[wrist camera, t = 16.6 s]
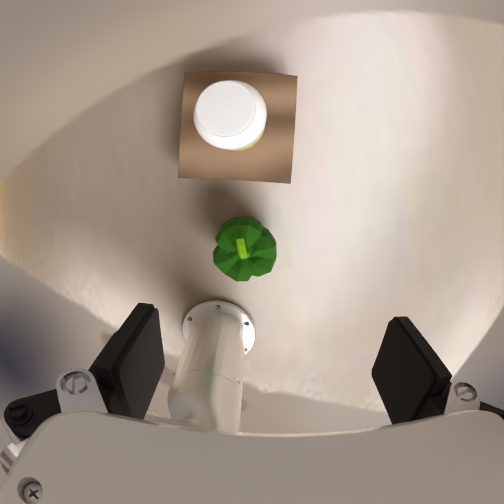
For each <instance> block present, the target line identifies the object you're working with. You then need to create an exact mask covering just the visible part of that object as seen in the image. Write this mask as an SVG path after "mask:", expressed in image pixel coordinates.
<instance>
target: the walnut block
mask: <svg viewBox="0 0 504 504" xmlns="http://www.w3.org/2000/svg"><path fill="white" fill-rule="evenodd" d="M227 80H235V81H241V82H244V83H246V84H249V85H250V86H252V87H253V88H255V89H256V90H257V91H258V92H259V93H260V95H261V96H262V98H263V100H264V102H265V105H266V111H267V117H266V123H265V129H264V132H263V135H262V137H261V138H260V140H259V141H258V142H257V143H256V144H255V145H253V146H252V147H250V148H248V149H245V150H241V151H232V150H227V149H221V148H218V147H215V146H213V145H211V144H209V143H208V142H206V141H205V140H204V139H203V138H202V137H201V136H200V134H199V133H198V131H197V129H196V127H195V123H194V108H195V105H196V102H197V100H198V98H199V96H200V95H201V93H202V92H203V91H204V90H205V89H206V88H207V87H209V86H210V85H212V84H214V83H216V82H220V81H227ZM296 95H297V76H293V75H283V74H272V73H257V72H186V73H185V78H184V89H183V100H182V112H181V127H180V144H179V168H178V178H201V179H227V180H246V181H262V182H275V183H288V184H290V183H291V171H292V158H293V144H294V129H295V113H296Z"/></svg>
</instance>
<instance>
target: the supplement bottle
mask: <svg viewBox="0 0 504 504" xmlns="http://www.w3.org/2000/svg"><path fill="white" fill-rule="evenodd" d="M266 117H267V111H266V105H265V102H264V100H263V98H262V96H261V95H260V93H259V92H258V91H257V90H256V89H255V88H253V87H252V86H250V85H249V84H246V83H244V82H241V81H235V80H227V81H220V82H216V83H214V84H212V85H210V86H209V87H207V88H206V89H205V90H204V91H203V92H202V93H201V95H200V96H199V98H198V100H197V102H196V105H195V108H194V123H195V127H196V129H197V131H198V133H199V134H200V136H201V137H202V138H203V139H204V140H205V141H206V142H208V143H209V144H211V145H213V146H215V147H218V148H221V149H227V150H232V151H241V150H245V149H248V148H250V147H252V146H253V145H255V144H256V143H257V142H258V141H259V140H260V138H261V137H262V135H263V132H264V129H265V123H266Z"/></svg>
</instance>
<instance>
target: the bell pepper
mask: <svg viewBox="0 0 504 504" xmlns="http://www.w3.org/2000/svg"><path fill="white" fill-rule="evenodd" d="M215 239H216V241H217V243H218V246H217V247H216V248H215V250H214V252H213V259H214V263H215V265H216V266H217V267H218V268H219V269H220V270H221V271H222V272H223V273H224V274H226V275H227V276H229V277H231V278H232V279H234V280H235V281H248V280H249V279H250V277H251V276H252V275H253V276H261V275H264V274H266V273H269V272H271V270H272V268H273V265H274V262H275V260H276V241H275V239H274V237H273V236H272V234H271V233H270V232H269V230H268V229H266V228H264V227H262V226H261V223H260V222H259V221H257V220H255V219H253V218H251V217H234V218H232V219H231V220H229V221H227V222H226V223H224V224H223V226H222V227H221V229H220V231H219V233H218V234H217V236H216V238H215Z"/></svg>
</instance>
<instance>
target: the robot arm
mask: <svg viewBox="0 0 504 504" xmlns="http://www.w3.org/2000/svg"><path fill="white" fill-rule="evenodd" d="M218 305H220V306H218ZM182 331H183V336H184V339H185V341H186V343H185V345H184V348H183V351H182V354H181V356H180V359H179V362H178V365H177V367H176V370H175V373H174V376H173V379H172V382H171V384H170V387H169V391H168V395H167V403H168V409H169V412H170V415H171V418H172V419H169V418H166V417H163V416H160V415H157V414H154V413H152V412H149V411H147V410H148V407H149V405H150V402H151V399H152V397H153V394H154V392H155V389H156V387H157V384H158V382H159V379H160V377H161V374H162V372H163V369H164V365H165V360H164V353H163V346H162V338H161V330H160V322H159V312H158V309H157V308H154V306H153V304H146V303H138V304H137V306H136V307H135V308H134V310H133V311H132V312H131V314H130V315H129V316H128V318H127V319H126V320H125V322H124V323H123V325H122V326H121V327H120V329H119V330H118V331H117V332H115V333H114V334H113V336H112V337H111V338H110V340H109V341H108V343H107V344H106V345H105V347H104V348H103V350H102V351H101V353H100V354H99V355H98V357H97V358H96V360H95V361H94V363H93V364H92V365H91V367H90V369H89V370H88V371H87V370H85V369H80V368H76V369H70V370H67V371H65V372H64V373H62V374H61V375H60V376H59V377H58V379H57V382H56V389H54V390H50V391H47V392H44V393H40V394H36V395H33V396H29V397H25V398H21V399H17V400H15V401H13V402H11V403H10V404H9V405H8V406H7V407H6V409H5V412H4V417H3V418H0V504H504V410H501V409H499V408H496V407H494V406H491V405H488V404H486V403H484V402H481V401H480V391H479V389H478V388H477V387H476V386H475V385H474V384H473V383H471V382H469V381H467V380H456V381H455V382H453V383H451V382H450V379H451V377H452V375H451V373H450V372H449V370H448V369H447V368H446V366H445V365H444V364H443V362H442V361H441V359H440V358H439V357H438V355H437V354H436V353H435V351H434V350H433V349H432V347H431V346H430V345H429V344H428V342H427V341H426V340H425V338H424V337H423V336H422V334H421V333H420V332H419V331H418V329H417V328H416V327H415V326H414V324H413V323H412V322H411V321H410V319H409V318H408V317H394V318H393V319H392V320H391V321H389V323H388V326H387V329H386V332H385V335H384V338H383V341H382V344H381V347H380V350H379V352H378V355H377V358H376V360H375V363H374V366H373V368H372V378H373V380H374V382H375V385H376V387H377V389H378V392H379V394H380V396H381V399H382V401H383V403H384V406H385V408H386V410H387V413H388V415H389V418H390V420H391V422H392V425H387V426H381V427H374V428H366V429H358V430H349V431H338V432H326V433H325V432H324V433H303V434H263V433H241V431H240V415H241V399H242V385H243V371H244V357H245V354H246V353H248V352H249V350H250V349H251V348H252V346H253V344H254V340H255V327H254V324H253V322H252V320H251V318H250V317H249V315H248V314H247V313H246V312H245V311H244V310H243V309H241V308H240V307H238V306H236V305H234V304H232V303H229V302H226V301H219V300H211V301H206V302H202V303H200V304H197V305H196V306H194V307H193V308H192V309H191V310H190V311H189V312H188V313H187V315H186V317H185V319H184V322H183V327H182Z"/></svg>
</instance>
